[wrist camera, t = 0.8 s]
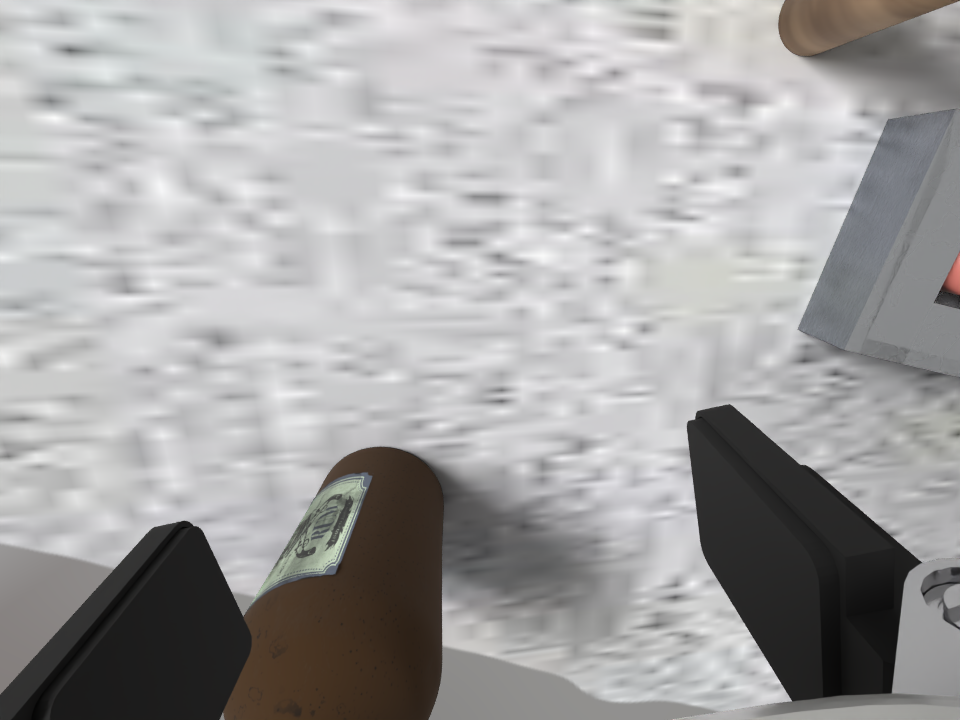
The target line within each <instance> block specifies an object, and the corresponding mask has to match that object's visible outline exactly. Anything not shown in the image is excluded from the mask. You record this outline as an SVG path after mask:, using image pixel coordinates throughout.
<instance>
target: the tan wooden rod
mask: <svg viewBox="0 0 960 720" xmlns="http://www.w3.org/2000/svg"><path fill="white" fill-rule="evenodd" d="M958 1H960V0H785V2H784V4H783V6H782V9H781V12H780V15H779V23H778V26H779V34H780V37H781V40H782V42H783V44H784V45H785V47H786V48H787V49H788V50H789V51H791V52H792V53H794V54H796V55H799V56H813V55H816V54H819V53H822V52H824V51H827V50H830V49H832V48H835V47H838V46H840V45H843V44H846V43H848V42H851V41H854V40H856V39H859V38H862V37H864V36H867V35H870V34H872V33H875V32H878V31H880V30H883V29H886V28H888V27H891V26H894V25H896V24H899V23H902V22H904V21H907V20H910V19H912V18H915V17H918V16H920V15H923V14H926V13H928V12H931V11H934V10H936V9H939V8H942V7H944V6H947V5H950V4H952V3H955V2H958Z"/></svg>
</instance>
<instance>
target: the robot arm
mask: <svg viewBox="0 0 960 720" xmlns="http://www.w3.org/2000/svg"><path fill="white" fill-rule="evenodd" d="M687 433H688V442H689V450H690V458H691V467H692V475H693V484H694V492H695V501H696V509H697V518H698V526H699V534H700V542H701V547H702V551H703V554H704V556H705V559H706V561H707V563H708V565H709V566H710V568H711V570H712V571H713V573H714V574H715V576H716V578H717V579H718V581H719V583H720V584H721V586H722V588H723V589H724V591H725V592H726V594H727V596H728V597H729V599H730V601H731V602H732V604H733V605H734V607H735V609H736V610H737V612H738V614H739V615H740V617H741V618H742V620H743V622H744V623H745V625H746V627H747V628H748V630H749V632H750V633H751V635H752V636H753V638H754V640H755V641H756V643H757V645H758V646H759V648H760V649H761V651H762V653H763V654H764V656H765V658H766V659H767V661H768V662H769V664H770V666H771V667H772V669H773V671H774V672H775V674H776V676H777V677H778V679H779V680H780V682H781V684H782V685H783V687H784V689H785V690H786V692H787V693H788V695H789V697H790V698H791V700H792V702H783V703H774V704H768V705H761V706H755V707H748V708H742V709H735V710H729V711H723V712H716V713H710V714H704V715H698V716H691V717H685V718H678V719H672V720H960V558H948V559H936V560H932V561H928V562H925V563H922V562H921V561H919V560H918V559H917V558H916V557H915V556H914V555H912V554H911V553H910V552H909V551H908V550H907V549H905V548H904V547H903V546H902V545H901V544H900V543H898V542H897V541H896V540H895V539H894V538H892V537H891V536H890V535H889V534H888V533H887V532H885V531H884V530H883V529H882V528H881V527H880V526H878V525H877V524H876V523H875V522H874V521H873V520H871V519H870V518H869V517H868V516H867V515H866V514H864V513H863V512H862V511H861V510H860V509H859V508H857V507H856V506H855V505H854V504H853V503H851V502H850V501H849V500H848V499H847V498H846V497H844V496H843V495H842V494H841V493H840V492H839V491H837V490H836V489H835V488H834V487H833V486H832V485H830V484H829V483H828V482H827V481H826V480H825V479H823V478H822V477H821V476H820V475H819V474H818V473H816V472H815V471H814V470H813V469H811V468H810V467H808V466H806V465H800V464H798V463H797V462H796V461H795V460H794V459H793V458H792V457H790V456H789V455H788V454H787V453H786V452H785V451H784V450H782V449H781V448H780V447H779V446H778V445H777V444H776V443H774V442H773V441H772V440H771V439H770V438H769V437H768V436H766V435H765V434H764V433H763V432H762V431H761V430H760V429H758V428H757V427H756V426H755V425H754V424H753V423H751V422H750V421H749V420H748V419H747V418H746V417H745V416H743V415H742V414H741V413H740V412H739V411H738V410H737V409H735V408H734V407H733V406H732V405H730V404H729V405H723V406H719V407H714V408H709V409H705V410H700V411H697V413H696V417H695V420H691V421H688V423H687ZM251 647H252V637H251V633H250V630H249V628H248V626H247V624H246V622H245V620H244V618H243V615H242V613H241V611H240V609H239V607H238V605H237V603H236V601H235V599H234V596H233V594H232V592H231V590H230V588H229V586H228V584H227V582H226V579H225V577H224V575H223V573H222V571H221V569H220V567H219V565H218V563H217V560H216V558H215V556H214V554H213V552H212V550H211V548H210V546H209V544H208V541H207V539H206V537H205V535H204V533H203V531H202V530H201V529H200V528H199V527H196V526H193V525H192V524H191V523H190V522H188V521H181V522H176V523H172V524H167V525H162V526H158V527H154V528H153V529H151V530H150V531H149V532H148V533H147V534H146V535H145V536H144V537H143V539H142V540H141V541H140V542H139V543H138V544H137V545H136V546H135V547H134V548H133V550H132V551H131V552H130V553H129V554H128V555H127V556H126V557H125V558H124V559H123V560H122V562H121V563H120V564H119V565H118V566H117V567H116V568H115V569H114V570H113V572H112V573H111V574H110V575H109V576H108V577H107V578H106V579H105V580H104V581H103V583H102V584H101V585H100V586H99V587H98V588H97V589H96V590H95V591H94V592H93V593H92V595H91V596H90V597H89V598H88V599H87V600H86V601H85V602H84V603H83V604H82V606H81V607H80V608H79V609H78V610H77V611H76V612H75V613H74V614H73V616H72V617H71V618H70V619H69V620H68V621H67V622H66V623H65V624H64V625H63V626H62V628H61V629H60V630H59V631H58V632H57V633H56V634H55V635H54V636H53V638H52V639H51V640H50V641H49V642H48V643H47V644H46V645H45V646H44V647H43V648H42V650H41V651H40V652H39V653H38V654H37V655H36V656H35V657H34V658H33V659H32V661H31V662H30V663H29V664H28V665H27V666H26V667H25V668H24V669H23V670H22V672H21V673H20V674H19V675H18V676H17V677H16V678H15V679H14V680H13V682H11V684H10V685H9V686H8V687H7V688H6V689H5V690H4V691H3V692H2V693H1V695H0V720H219V719H220V717H221V715H222V713H223V711H224V709H225V706H226V704H227V702H228V700H229V698H230V696H231V693H232V691H233V689H234V687H235V685H236V683H237V681H238V678H239V676H240V674H241V672H242V670H243V668H244V665H245V663H246V661H247V659H248V657H249V655H250V652H251Z"/></svg>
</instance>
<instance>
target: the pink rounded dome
mask: <svg viewBox="0 0 960 720" xmlns="http://www.w3.org/2000/svg"><path fill="white" fill-rule="evenodd" d="M940 291H943V292H947V293H951V294H956V295H960V251H959V253H958V255H957V257H956V259H955V261H954V263H953V265H952V267H951V269H950V271H949V273H948V275H947V277H946V279H945V281H944V283H943V285H942V287H941V289H940Z"/></svg>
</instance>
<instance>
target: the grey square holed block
mask: <svg viewBox="0 0 960 720" xmlns="http://www.w3.org/2000/svg"><path fill="white" fill-rule="evenodd" d="M959 251H960V110H958V109H953V110H946V111H940V112H933V113H927V114H921V115H914V116H908V117H901V118H895V119H888V121H887V124H886V126H885V128H884V131H883V133H882V135H881V137H880V140H879V142H878V144H877V147H876V149H875V151H874V154H873V156H872V158H871V161H870V163H869V165H868V168H867V170H866V172H865V175H864V177H863V179H862V181H861V184H860V186H859V188H858V191H857V193H856V195H855V198H854V200H853V202H852V205H851V207H850V209H849V212H848V214H847V216H846V219H845V221H844V223H843V226H842V228H841V230H840V232H839V235H838V237H837V239H836V242H835V244H834V246H833V249H832V251H831V253H830V256H829V258H828V260H827V263H826V265H825V267H824V270H823V272H822V274H821V276H820V279H819V281H818V283H817V286H816V288H815V290H814V293H813V295H812V297H811V300H810V302H809V304H808V307H807V309H806V311H805V314H804V316H803V318H802V320H801V323H800V325H799V327H798V330H800V331H802V332H804V333H807V334H809V335H811V336H813V337H816V338H818V339H820V340H822V341H825V342H827V343H829V344H831V345H834V346H836V347H838V348H840V349H843V350H846V351H850V352H854V353H858V354H863V355H867V356H871V357H875V358H879V359H884V360H888V361H892V362H896V363H900V364H905V365H909V366H913V367H917V368H921V369H926V370H930V371H934V372H938V373H943V374H947V375H951V376H955V377H959V378H960V309H957V308H953V307H949V306H945V305H941V304H937V303H934V301H935V299H936V297H937V295H938V293H939V291H940V289H941V287H942V285H943V283H944V281H945V279H946V277H947V275H948V273H949V271H950V269H951V267H952V265H953V263H954V261H955V259H956V257H957V255H958V253H959Z"/></svg>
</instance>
